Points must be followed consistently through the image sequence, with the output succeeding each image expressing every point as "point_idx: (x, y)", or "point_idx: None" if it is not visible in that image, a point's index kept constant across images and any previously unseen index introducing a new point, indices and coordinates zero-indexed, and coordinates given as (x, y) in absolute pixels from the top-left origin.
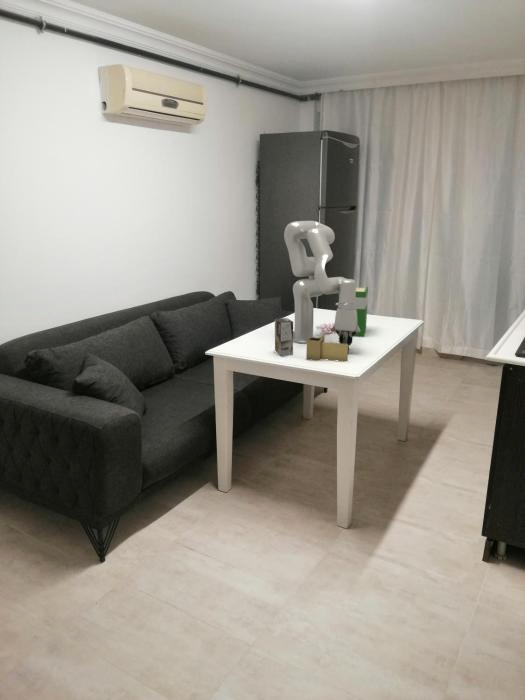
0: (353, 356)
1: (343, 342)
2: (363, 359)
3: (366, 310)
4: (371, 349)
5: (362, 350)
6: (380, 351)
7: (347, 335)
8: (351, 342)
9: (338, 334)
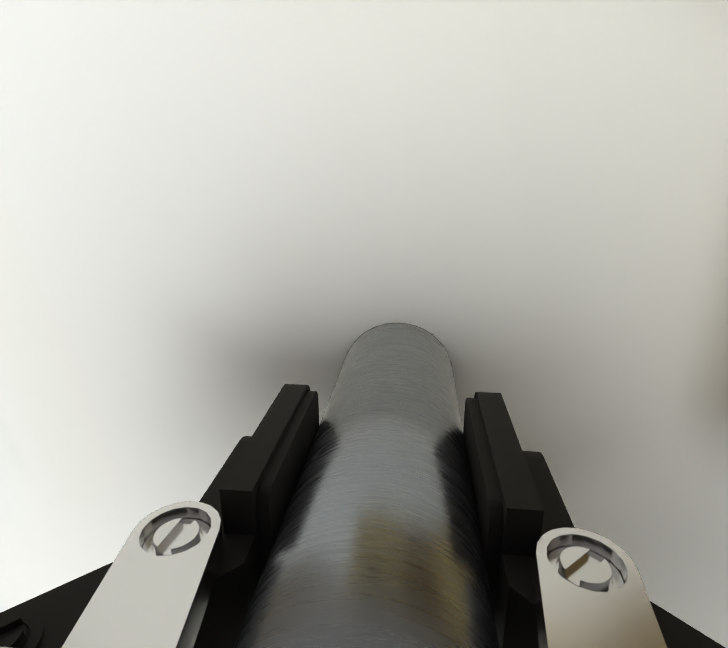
0: (229, 211)
1: (420, 411)
2: (39, 92)
3: None
4: None
5: None
6: (7, 539)
7: (290, 547)
8: (242, 439)
9: (635, 580)
